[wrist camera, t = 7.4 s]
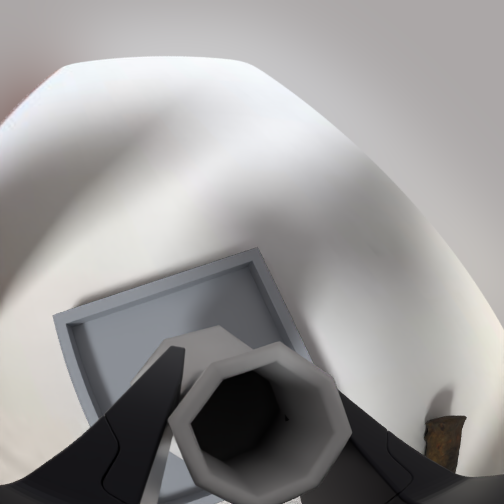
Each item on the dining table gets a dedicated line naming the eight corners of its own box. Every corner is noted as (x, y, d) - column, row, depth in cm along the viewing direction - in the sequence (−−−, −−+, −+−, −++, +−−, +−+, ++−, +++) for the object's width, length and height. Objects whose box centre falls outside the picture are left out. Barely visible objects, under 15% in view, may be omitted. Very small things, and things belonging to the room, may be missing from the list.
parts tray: (149, 512, 13) (147, 524, 11) (62, 321, 17) (52, 315, 15) (332, 430, 18) (346, 433, 17) (250, 258, 23) (257, 247, 21)
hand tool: (418, 418, 21) (455, 418, 16) (443, 414, 21) (478, 412, 17) (379, 570, 12) (405, 584, 8) (407, 559, 13) (433, 570, 9)
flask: (303, 407, 14) (456, 416, 5) (195, 487, 11) (236, 615, 2) (222, 302, 15) (292, 187, 7) (106, 375, 12) (-6, 359, 3)
